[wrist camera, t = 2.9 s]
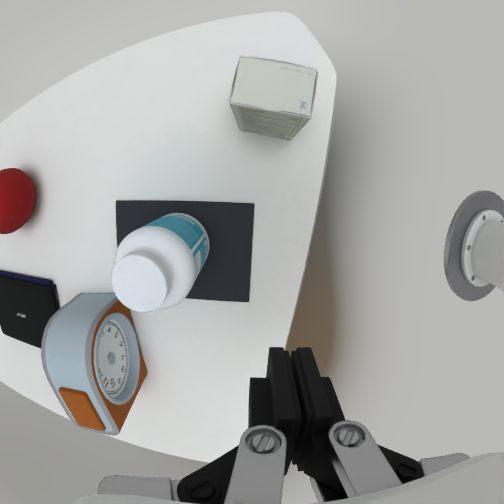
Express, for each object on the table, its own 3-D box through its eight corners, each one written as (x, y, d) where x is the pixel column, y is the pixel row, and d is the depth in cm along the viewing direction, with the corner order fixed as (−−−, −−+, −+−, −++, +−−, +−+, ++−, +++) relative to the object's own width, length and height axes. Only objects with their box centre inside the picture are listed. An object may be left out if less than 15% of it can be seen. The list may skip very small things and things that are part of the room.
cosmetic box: (297, 106, 29) (322, 68, 17) (291, 142, 30) (314, 119, 18) (243, 96, 28) (239, 52, 17) (236, 131, 30) (227, 103, 18)
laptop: (-9, 253, 33) (-16, 256, 31) (64, 283, 34) (57, 288, 32) (2, 327, 37) (-4, 331, 35) (72, 364, 38) (67, 370, 36)
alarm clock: (152, 379, 38) (124, 442, 25) (106, 375, 38) (72, 430, 25) (127, 292, 34) (75, 345, 21) (79, 293, 34) (23, 337, 21)
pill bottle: (140, 228, 32) (80, 259, 19) (193, 201, 31) (153, 216, 18) (168, 282, 34) (127, 338, 21) (221, 258, 33) (202, 309, 20)
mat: (254, 203, 32) (254, 203, 31) (248, 301, 35) (248, 302, 34) (116, 200, 31) (115, 200, 31) (122, 291, 34) (121, 292, 34)
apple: (17, 160, 29) (-28, 161, 20) (51, 178, 30) (2, 182, 21) (6, 214, 31) (-37, 226, 22) (37, 236, 32) (-8, 253, 23)
